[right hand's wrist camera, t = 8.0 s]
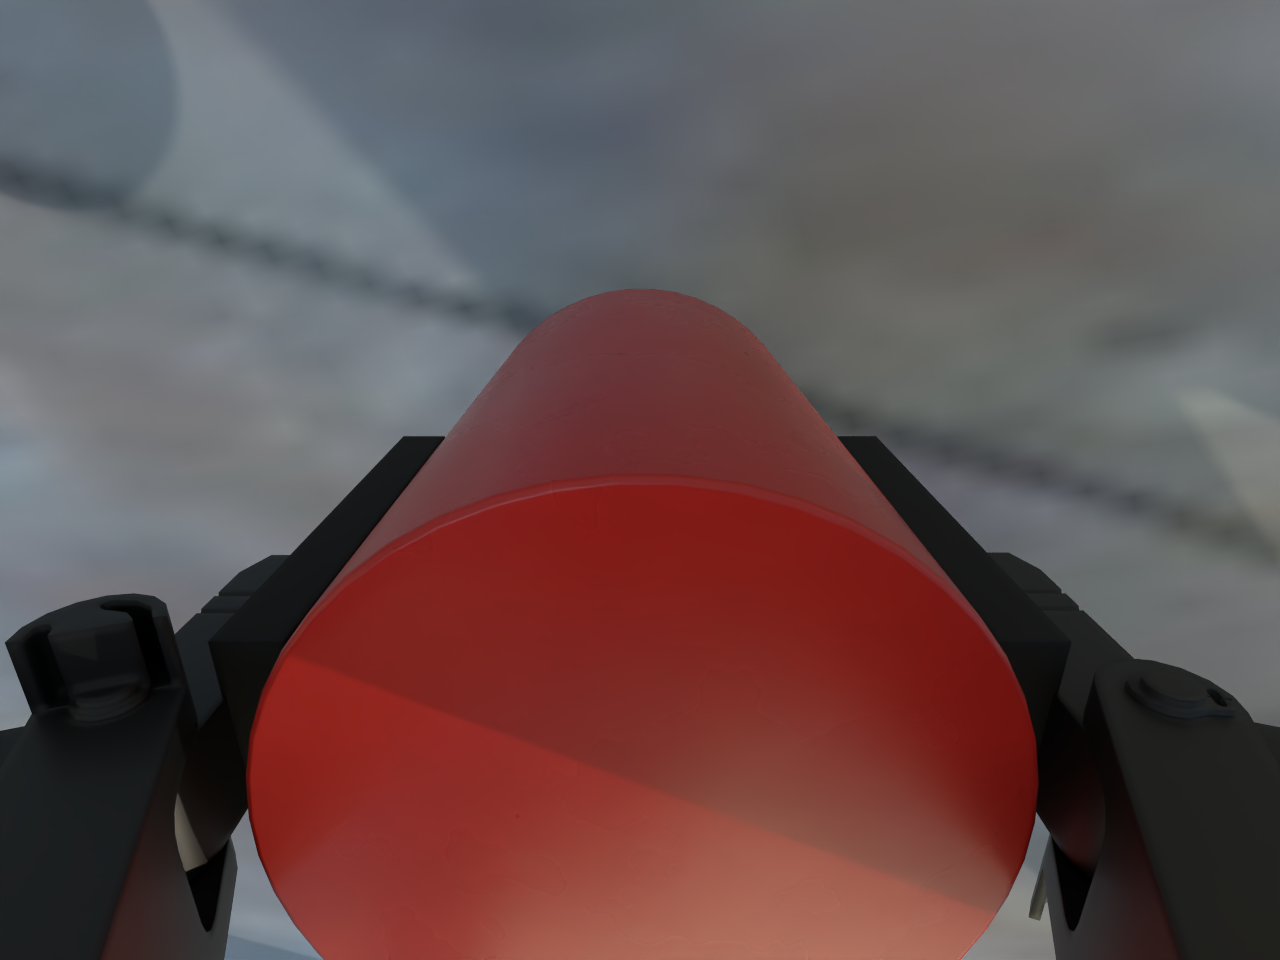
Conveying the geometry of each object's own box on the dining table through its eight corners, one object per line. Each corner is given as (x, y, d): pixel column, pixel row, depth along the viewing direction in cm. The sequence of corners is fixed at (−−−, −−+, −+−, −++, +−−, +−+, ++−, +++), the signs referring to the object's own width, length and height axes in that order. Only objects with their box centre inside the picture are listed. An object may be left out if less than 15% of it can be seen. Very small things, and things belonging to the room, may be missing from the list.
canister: (425, 376, 16) (65, 691, 6) (721, 228, 15) (892, 308, 5) (575, 625, 18) (497, 1149, 8) (841, 514, 17) (1121, 966, 7)
